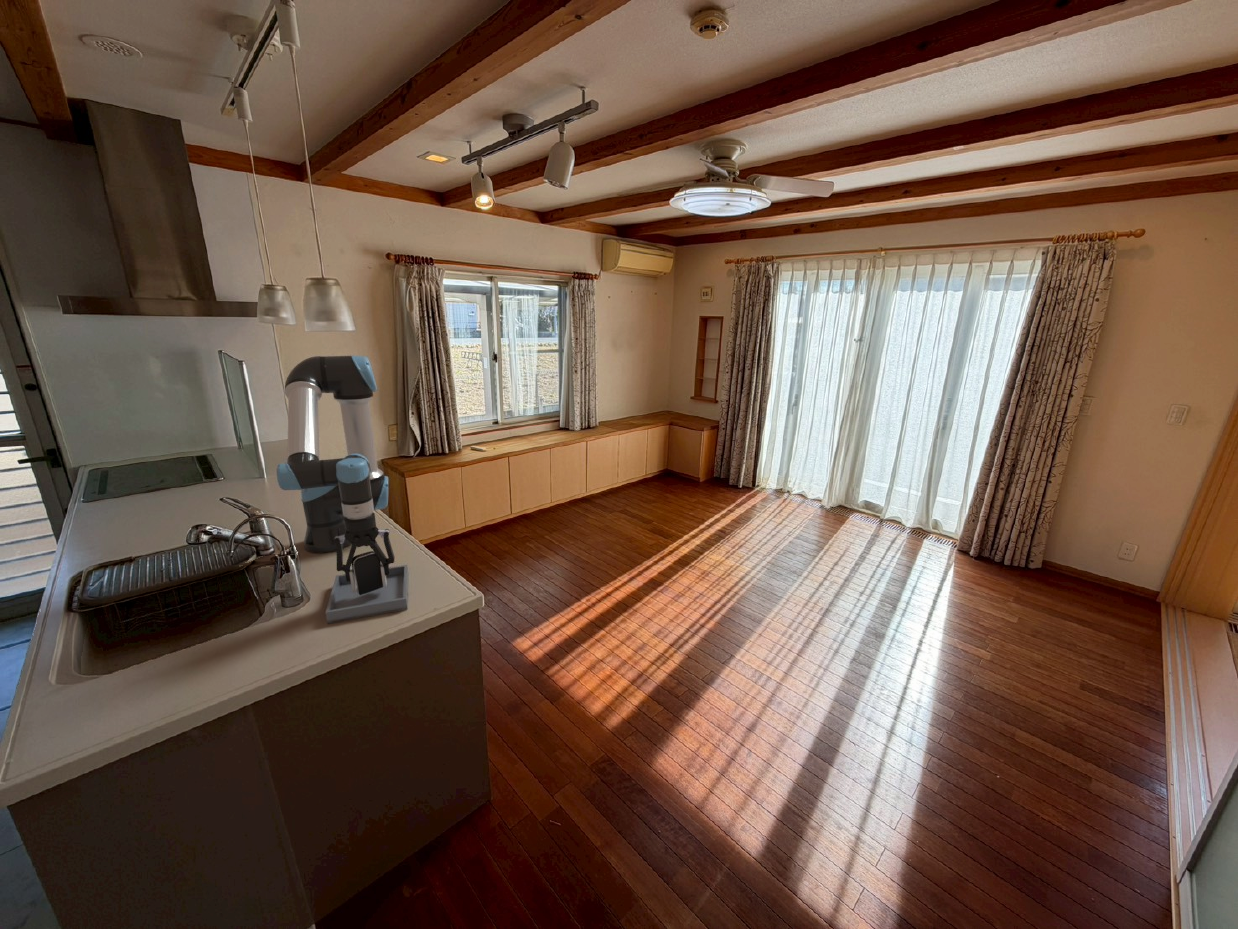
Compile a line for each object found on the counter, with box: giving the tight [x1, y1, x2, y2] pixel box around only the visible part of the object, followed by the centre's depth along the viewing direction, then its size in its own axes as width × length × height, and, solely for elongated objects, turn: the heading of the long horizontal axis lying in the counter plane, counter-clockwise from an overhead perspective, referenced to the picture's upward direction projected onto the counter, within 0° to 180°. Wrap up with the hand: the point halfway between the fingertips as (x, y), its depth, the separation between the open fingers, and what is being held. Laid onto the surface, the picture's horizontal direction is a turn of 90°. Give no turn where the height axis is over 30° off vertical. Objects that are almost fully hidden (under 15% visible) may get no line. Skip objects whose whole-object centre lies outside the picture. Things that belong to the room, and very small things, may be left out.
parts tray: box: [325, 564, 409, 625], centre depth 140 cm, size 20×20×4 cm
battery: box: [351, 550, 383, 595], centre depth 138 cm, size 7×4×11 cm, turn 135°
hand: (369, 587), depth 139 cm, fingers closed on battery, 7 cm apart
